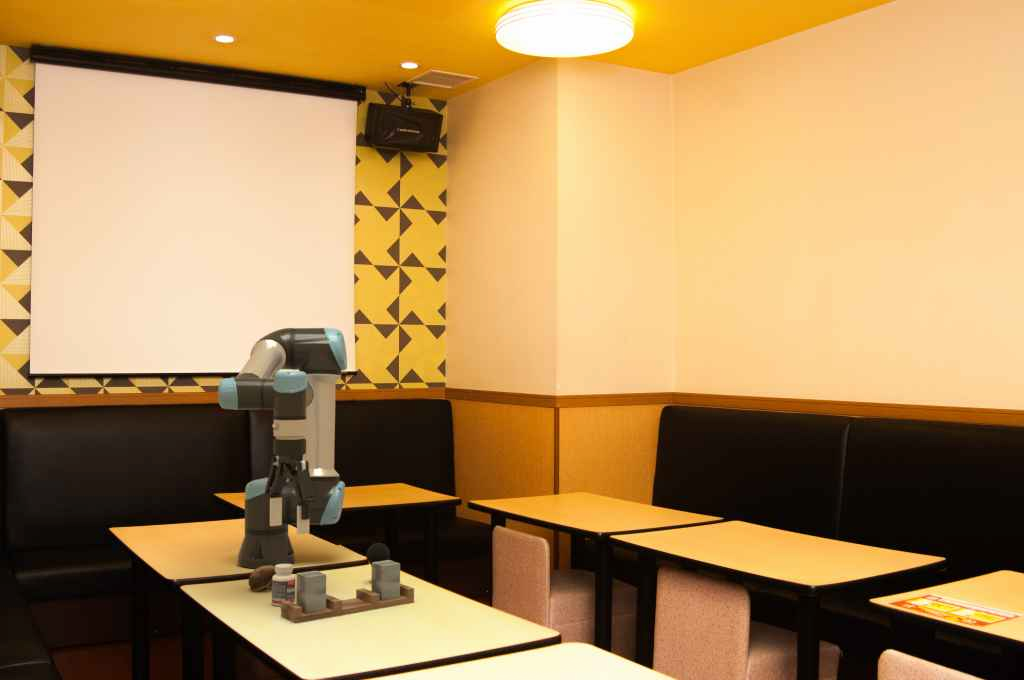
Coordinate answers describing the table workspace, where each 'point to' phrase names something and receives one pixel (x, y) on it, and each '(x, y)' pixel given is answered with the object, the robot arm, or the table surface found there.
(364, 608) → the rail
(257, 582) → the mushroom
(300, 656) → the table surface
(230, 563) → the table surface
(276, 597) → the pill bottle
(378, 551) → the black round piece
